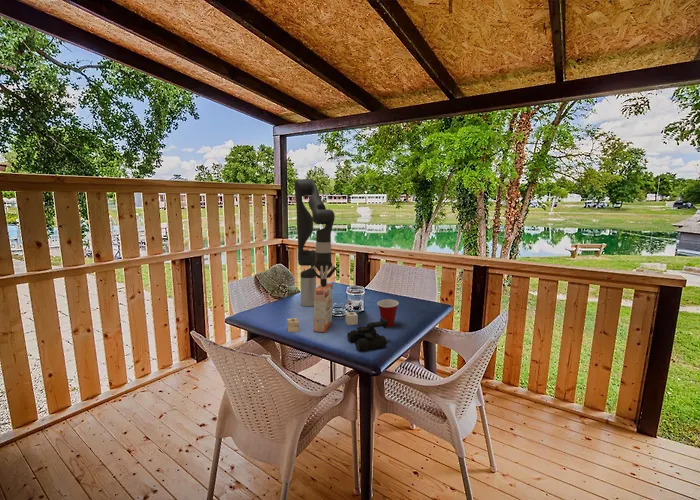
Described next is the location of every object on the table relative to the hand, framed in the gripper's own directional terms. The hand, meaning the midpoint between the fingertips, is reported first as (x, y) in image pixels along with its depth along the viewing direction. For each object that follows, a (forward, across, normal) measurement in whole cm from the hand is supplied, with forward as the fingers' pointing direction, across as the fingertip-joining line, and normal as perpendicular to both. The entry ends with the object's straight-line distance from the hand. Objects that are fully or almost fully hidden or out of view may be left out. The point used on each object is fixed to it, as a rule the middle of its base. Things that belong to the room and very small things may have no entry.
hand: (323, 286), depth 158 cm
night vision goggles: (+21, -16, +23) cm, 35 cm away
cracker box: (+21, 0, 0) cm, 21 cm away
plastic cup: (+21, -32, +5) cm, 39 cm away
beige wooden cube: (+21, -15, -2) cm, 26 cm away
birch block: (+21, +15, 0) cm, 26 cm away
